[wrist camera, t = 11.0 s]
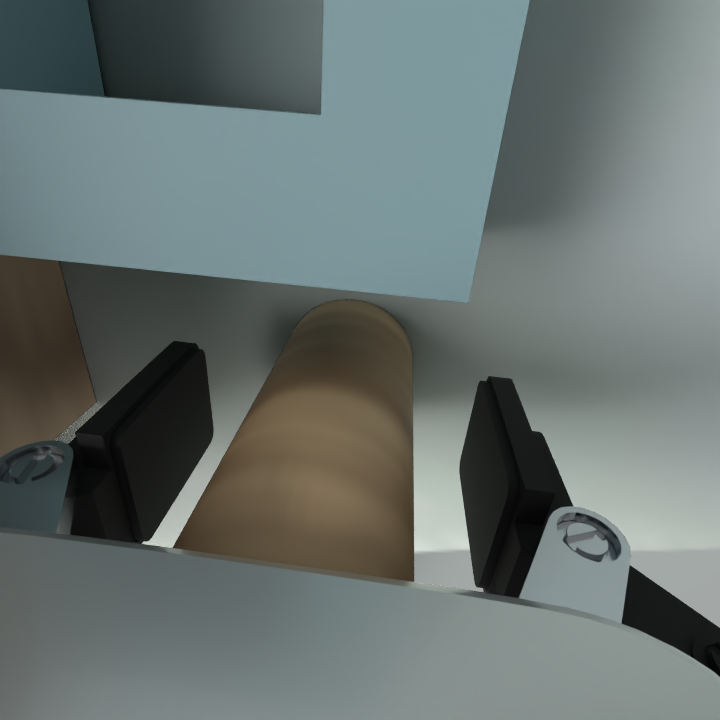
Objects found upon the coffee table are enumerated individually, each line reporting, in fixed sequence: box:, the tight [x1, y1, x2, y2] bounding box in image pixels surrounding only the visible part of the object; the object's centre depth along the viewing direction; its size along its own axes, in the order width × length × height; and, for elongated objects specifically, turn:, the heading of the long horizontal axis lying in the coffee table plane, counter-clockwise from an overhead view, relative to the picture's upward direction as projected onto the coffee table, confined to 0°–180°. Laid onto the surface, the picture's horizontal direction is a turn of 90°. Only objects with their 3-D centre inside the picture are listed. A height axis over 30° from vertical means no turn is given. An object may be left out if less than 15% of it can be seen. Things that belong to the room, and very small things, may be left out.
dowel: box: [173, 299, 414, 582], centre depth 10 cm, size 4×4×10 cm
